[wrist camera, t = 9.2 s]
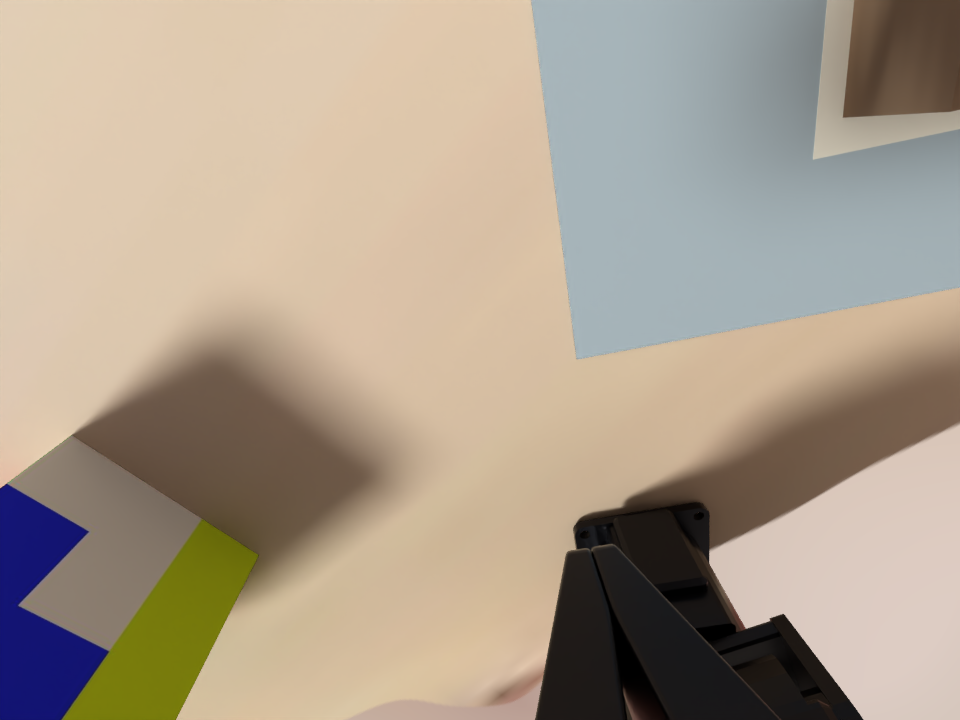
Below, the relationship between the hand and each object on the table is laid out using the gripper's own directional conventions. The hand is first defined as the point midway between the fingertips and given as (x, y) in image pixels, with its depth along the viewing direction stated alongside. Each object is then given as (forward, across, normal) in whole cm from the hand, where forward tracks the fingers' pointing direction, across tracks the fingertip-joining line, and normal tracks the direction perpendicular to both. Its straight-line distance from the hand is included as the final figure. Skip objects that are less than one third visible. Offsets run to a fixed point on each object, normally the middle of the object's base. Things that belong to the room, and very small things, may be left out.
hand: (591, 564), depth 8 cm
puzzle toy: (+12, +22, +8) cm, 26 cm away
